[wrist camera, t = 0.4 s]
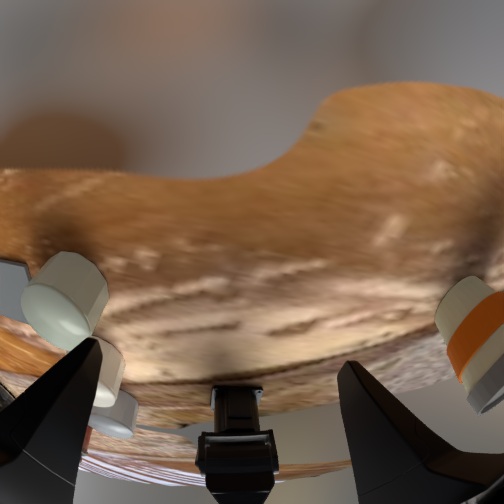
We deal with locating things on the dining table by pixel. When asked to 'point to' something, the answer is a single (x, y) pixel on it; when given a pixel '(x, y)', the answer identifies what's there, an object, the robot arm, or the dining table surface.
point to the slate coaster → (13, 289)
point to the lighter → (86, 442)
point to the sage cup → (65, 300)
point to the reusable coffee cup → (475, 340)
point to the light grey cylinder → (116, 417)
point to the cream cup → (108, 375)
